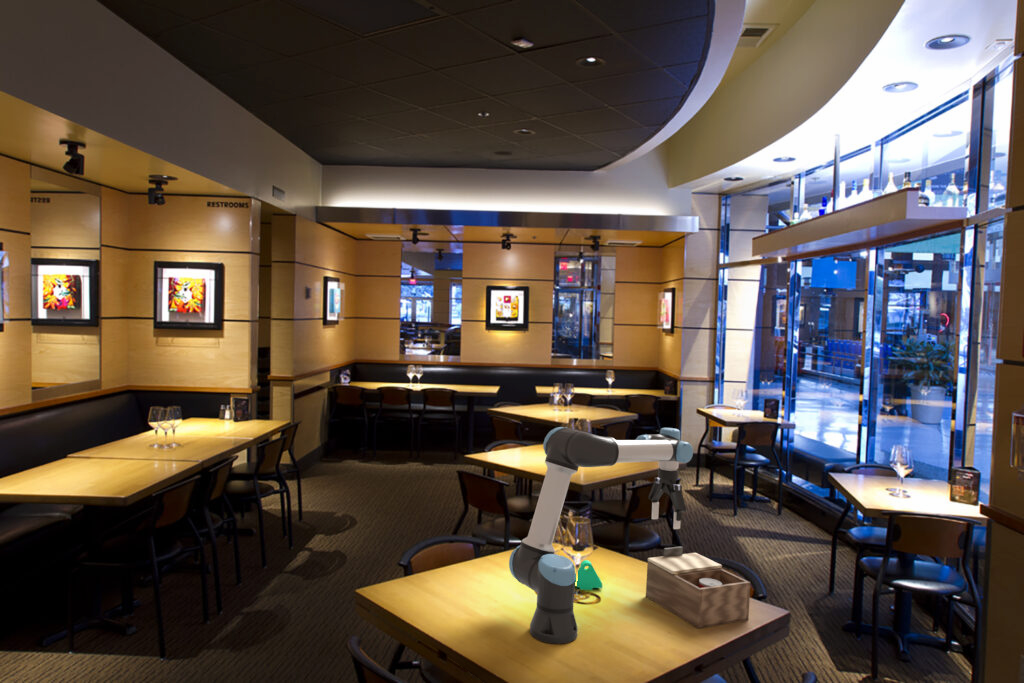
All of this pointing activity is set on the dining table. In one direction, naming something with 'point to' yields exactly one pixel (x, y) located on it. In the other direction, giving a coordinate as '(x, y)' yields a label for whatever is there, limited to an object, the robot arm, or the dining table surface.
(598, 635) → the dining table surface
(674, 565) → the lid
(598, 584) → the camera mount
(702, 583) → the canned food
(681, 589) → the housing
